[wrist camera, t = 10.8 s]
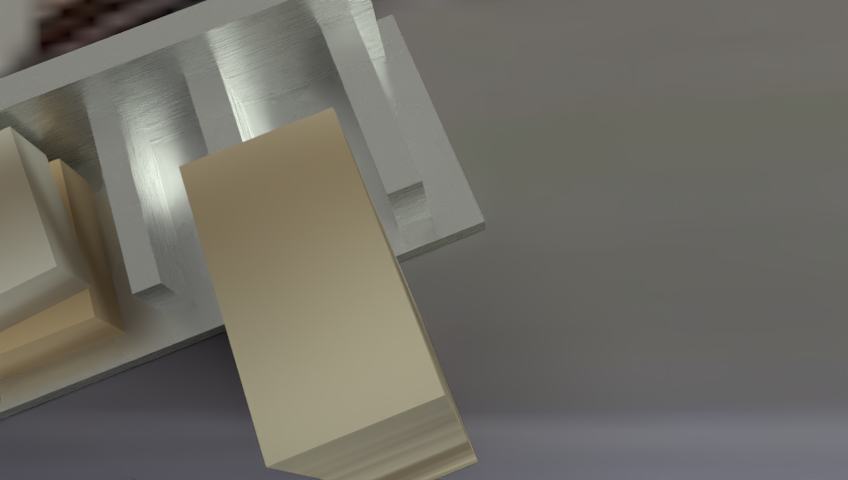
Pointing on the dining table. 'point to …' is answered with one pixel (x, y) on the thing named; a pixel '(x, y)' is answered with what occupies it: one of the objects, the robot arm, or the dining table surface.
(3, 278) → the offcut pile
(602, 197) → the dining table surface
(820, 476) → the dining table surface
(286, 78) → the offcut rack
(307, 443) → the beige wooden block
